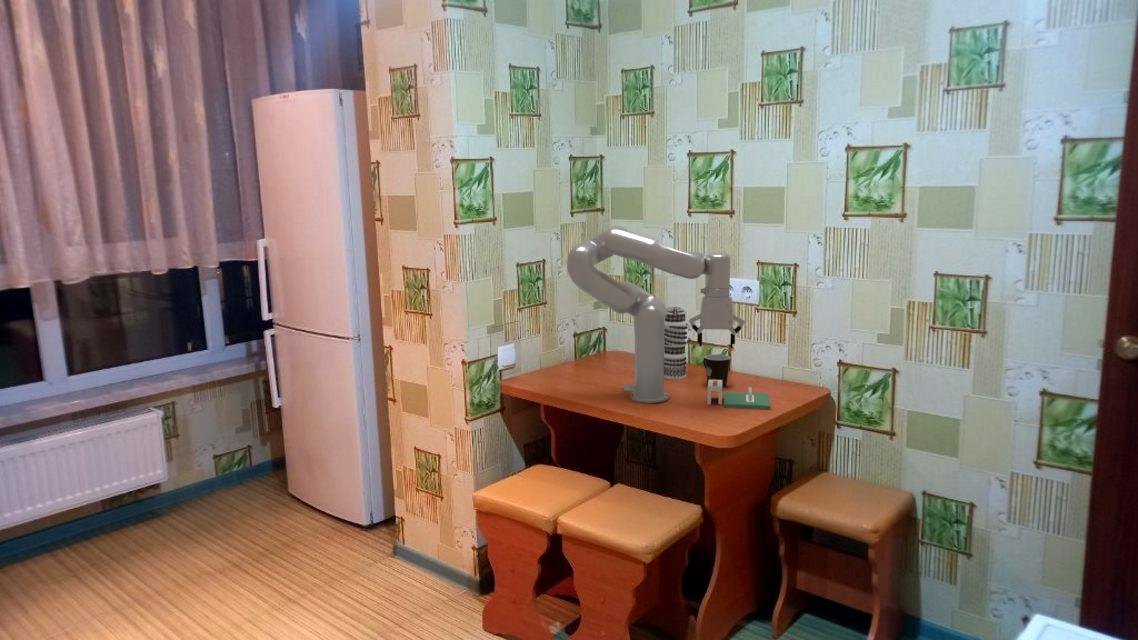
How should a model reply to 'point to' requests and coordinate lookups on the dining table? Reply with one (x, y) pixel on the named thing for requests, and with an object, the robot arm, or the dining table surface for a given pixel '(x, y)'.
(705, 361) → the coffee mug
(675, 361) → the decorative candle
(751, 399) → the board
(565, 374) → the dining table surface
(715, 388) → the white box
